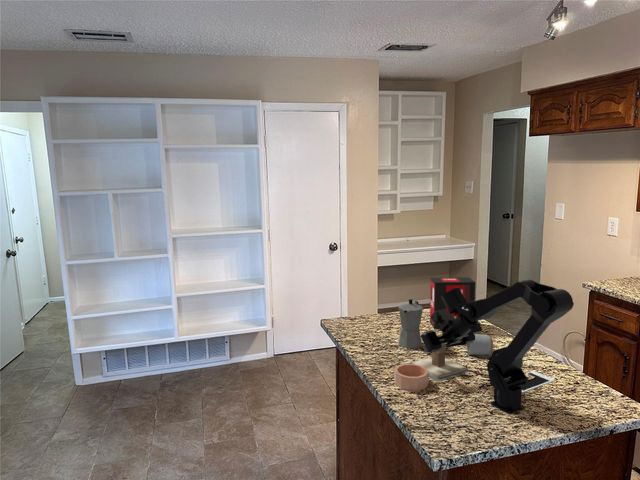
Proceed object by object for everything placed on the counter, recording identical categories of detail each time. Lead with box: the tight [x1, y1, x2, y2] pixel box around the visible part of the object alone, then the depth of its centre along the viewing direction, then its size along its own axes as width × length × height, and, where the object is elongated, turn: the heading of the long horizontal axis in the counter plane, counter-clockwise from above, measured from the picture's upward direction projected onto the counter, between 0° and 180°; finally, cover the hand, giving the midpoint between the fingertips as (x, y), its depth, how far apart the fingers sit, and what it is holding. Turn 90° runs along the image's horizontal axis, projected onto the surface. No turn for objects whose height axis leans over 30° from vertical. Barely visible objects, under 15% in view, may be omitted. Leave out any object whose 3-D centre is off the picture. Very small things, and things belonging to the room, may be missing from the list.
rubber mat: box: [409, 362, 472, 382], centre depth 149 cm, size 15×15×1 cm
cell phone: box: [520, 370, 556, 394], centre depth 139 cm, size 8×16×1 cm, turn 119°
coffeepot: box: [398, 298, 423, 349], centre depth 170 cm, size 15×9×18 cm, turn 150°
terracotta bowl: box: [393, 363, 429, 392], centre depth 138 cm, size 10×10×4 cm
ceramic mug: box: [466, 333, 494, 357], centre depth 161 cm, size 11×8×8 cm
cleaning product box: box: [429, 276, 476, 330], centre depth 191 cm, size 16×9×20 cm, turn 88°
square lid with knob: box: [411, 334, 466, 379], centre depth 148 cm, size 12×12×10 cm
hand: (435, 348), depth 149 cm, fingers open, 9 cm apart
